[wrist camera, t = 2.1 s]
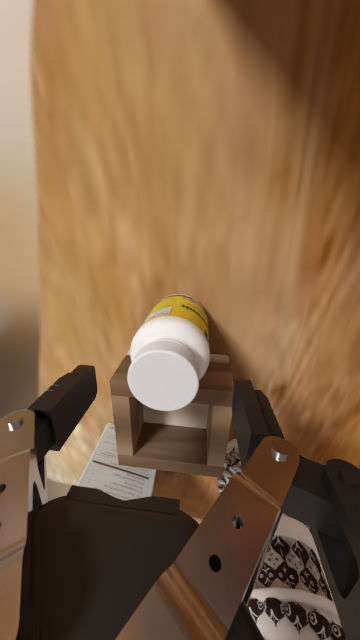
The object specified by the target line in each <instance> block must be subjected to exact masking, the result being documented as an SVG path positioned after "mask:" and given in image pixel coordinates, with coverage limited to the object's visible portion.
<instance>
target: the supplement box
mask: <svg viewBox="0 0 360 640" xmlns="http://www.w3.org/2000/svg"><path fill="white" fill-rule="evenodd" d="M156 471H157V470H155V469H147V468H139V467H131V466H123V465H119V463H118V454H117V444H116V435H115V425H114V423H110V422H108V423H107V425H106V427H105V429H104V431H103V433H102V435H101V437H100V439H99V441H98V443H97V445H96V447H95V449H94V451H93V453H92V455H91V457H90V459H89V461H88V463H87V465H86V467H85V469H84V470H83V472H82V474H81V476H80V478H79V480H78V482H77V484H76V486H82V487H89V488H96V489H99V490H101V491H103V492H105V493H107V494H109V495H111V496H113V497H115V498H117V499H119V500H131V499H137V498H143V497H150V496H152V492H153V487H154V481H155V476H156Z"/></svg>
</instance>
